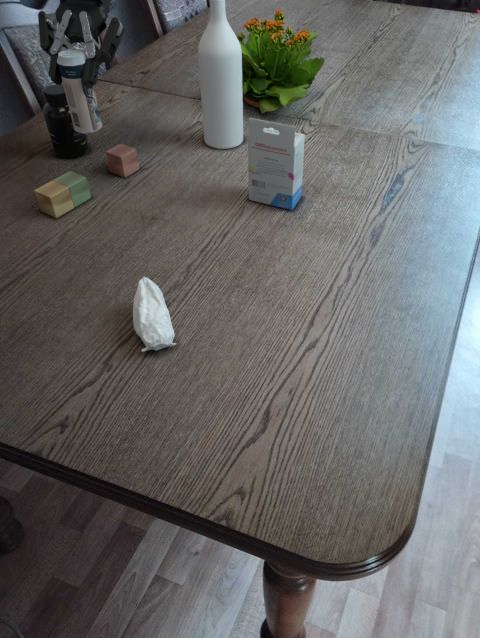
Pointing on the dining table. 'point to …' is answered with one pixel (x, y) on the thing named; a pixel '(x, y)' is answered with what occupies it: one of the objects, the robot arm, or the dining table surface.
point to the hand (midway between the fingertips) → (71, 83)
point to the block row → (82, 183)
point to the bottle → (221, 81)
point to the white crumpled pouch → (152, 316)
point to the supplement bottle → (62, 124)
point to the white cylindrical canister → (79, 92)
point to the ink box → (275, 163)
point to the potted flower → (276, 63)
